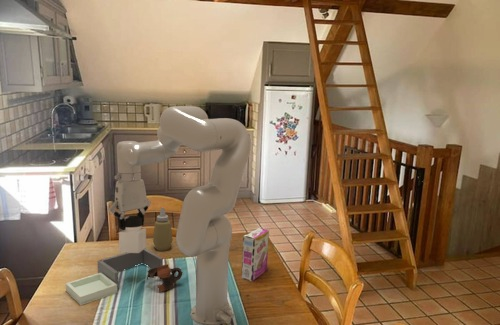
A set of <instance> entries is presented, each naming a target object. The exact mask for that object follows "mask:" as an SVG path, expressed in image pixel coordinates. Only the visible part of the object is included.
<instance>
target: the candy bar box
mask: <svg viewBox="0 0 500 325" xmlns="http://www.w3.org/2000/svg"><path fill="white" fill-rule="evenodd" d="M269 234H270V230H269V229H265V228H259V227H258V228H256V229H254V230H252V231H250V232H248V233H246V234H245V235H243V239H242V256H241V257H242V260H241V262H242V263H241V279H244V280H246V281H249V282H254V281H255V280H256V279H258V278H259V277H260V276H261V275H262V274H264V273H265V272H266V271H267V270H268V253H269V236H270V235H269Z"/></svg>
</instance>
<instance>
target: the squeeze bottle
mask: <svg viewBox="0 0 500 325" xmlns="http://www.w3.org/2000/svg"><path fill="white" fill-rule="evenodd" d="M172 232H173V231H172V223H171V220H169V215H167V214H166V211H165V208H164V207H160V211H159V214H158V215H157V216H156V221H155V222H154V227H153V237H152V238H153V239H152V242H153V245H154V248H155V250H156V251H159V252H165V251H168V250H170V249H171V246H172V244H173V241H174V240H173V233H172Z"/></svg>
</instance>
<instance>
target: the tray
mask: <svg viewBox="0 0 500 325" xmlns="http://www.w3.org/2000/svg"><path fill="white" fill-rule="evenodd" d="M65 292H66V293H67V294H68V295H69V297H72V299H74V300H75V302H77V304H79V305H80V306H84V305H87V304H89V303H92V302H95V301H97V300H101V299H104V298H106V297H108V296H112V295H115V294H117V293H118V289H117V284H115V283H114V282H113V281H112V280H110V279H109V278H108V277H106V276H105V275H104V274H102V273H98V272H97V273H95V274H91V275H88V276H85V277H82V278H77V279H75V280H72V281H69V282H65Z"/></svg>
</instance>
